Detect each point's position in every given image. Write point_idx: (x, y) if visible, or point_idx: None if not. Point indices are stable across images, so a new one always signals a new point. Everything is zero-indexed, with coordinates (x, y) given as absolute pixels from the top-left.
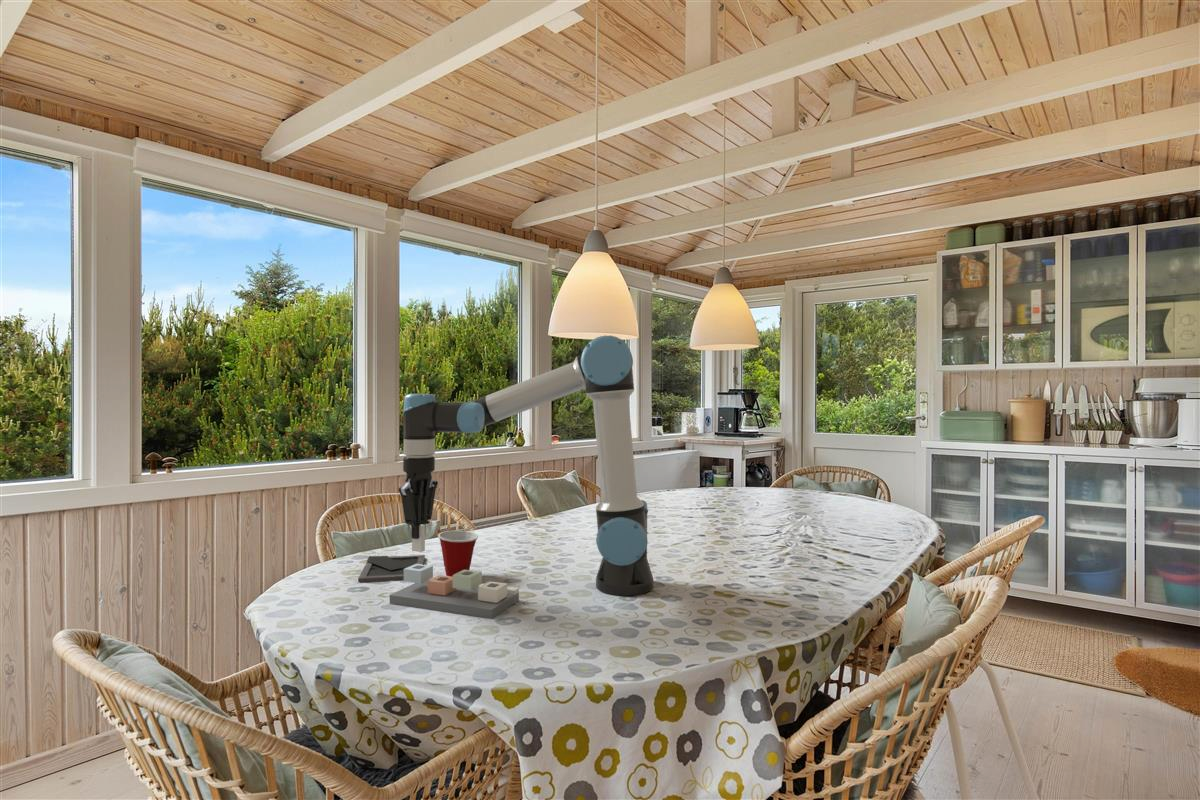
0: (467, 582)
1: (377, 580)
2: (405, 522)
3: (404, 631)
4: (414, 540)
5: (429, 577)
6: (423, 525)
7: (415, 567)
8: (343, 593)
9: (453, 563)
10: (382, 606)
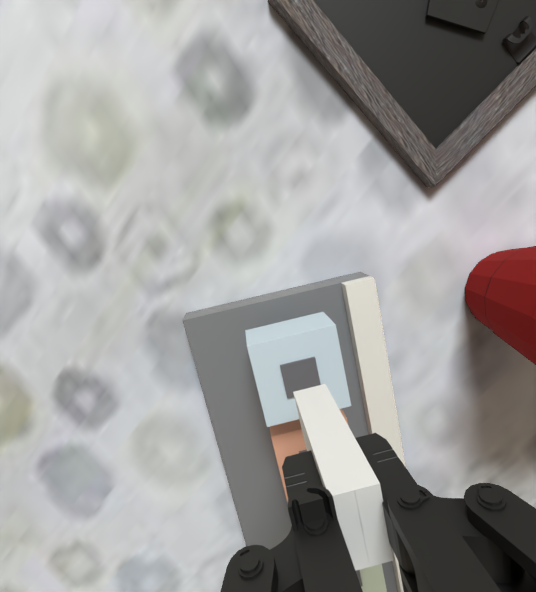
0: None
1: (321, 61)
2: (226, 571)
3: (72, 522)
4: (307, 440)
5: None
6: (372, 562)
7: (286, 376)
8: (149, 76)
9: (500, 330)
10: (154, 318)
